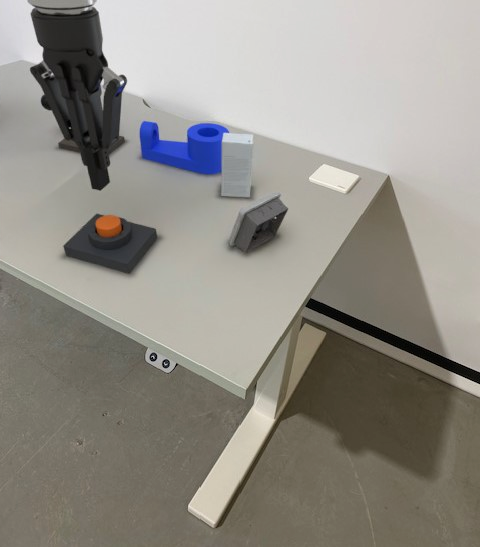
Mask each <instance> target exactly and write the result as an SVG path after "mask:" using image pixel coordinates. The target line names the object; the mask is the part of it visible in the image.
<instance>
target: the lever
mask: <svg viewBox="0 0 480 547" xmlns="http://www.w3.org/2000/svg"><path fill="white" fill-rule="evenodd" d="M40 104H41V106H42V108H44V109H45V110H46V111H51V112H52V110H51V108H50V106H49V103H48V101H47V99H46V97H45V95H44V94H42V96H41V98H40Z"/></svg>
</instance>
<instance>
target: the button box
mask: <svg viewBox="0 0 480 547" xmlns="http://www.w3.org/2000/svg"><path fill="white" fill-rule="evenodd" d="M102 216H106V215H105V214H100V213H95V214H94V215H93V216H92V217H91V218H90V219H89V220H88V221H87V222H86V223H85V224H84V225H83V226H82V227H80V229H79V230H78V231H76V233H75V234H74V235H72V236H71V238H70V239H69V240H68V241H66V242H65V243H64V244H63V245H62V247H63V250H64V252H65V253H64V254H65V256H66V257H70V258H72V259H77V260H79V261H83V262H87V263H89V264H94V265H97V266H101V267H105V268H109V269H112V270H115V271H119V272H123V273H126V274H131V272H133V270H134V268H135V267H136V266H137V265H138V264H139V262H140V261H141V260H142V258H143V257H144V256H145V255H146V253H147V252H148V251H149V250H150V248H151V247H152V246H153V245H154V243H155V242H156V240H158V235H157V228H155V227H152V226H151V227H150V226H148V225H147V226H146V225H143V224H139V223H136V222H131V221H129V220H127V219H126V218H123V217H120V216H117V217H118V218H119V219H120V221H121V227H122V231H121V233H120V234H118V235H116V236H113V237H102V236H100V235H99V234H98V233H97V228H96V221H97V219H99V218H100V217H102Z"/></svg>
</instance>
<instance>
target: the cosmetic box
mask: <svg viewBox="0 0 480 547" xmlns="http://www.w3.org/2000/svg"><path fill="white" fill-rule="evenodd" d="M253 153H254V134H253V133H235V132H229V133H223V138H222V172H220V173H221V178H220V180H221V181H220V182H221V183H220V185H221V186H220V192H221V193H220V195H221V197H230V198H231V197H232V198H233V197H234V198H248V199H250V197H251V184H252V171H253V157H254V156H253Z"/></svg>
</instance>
